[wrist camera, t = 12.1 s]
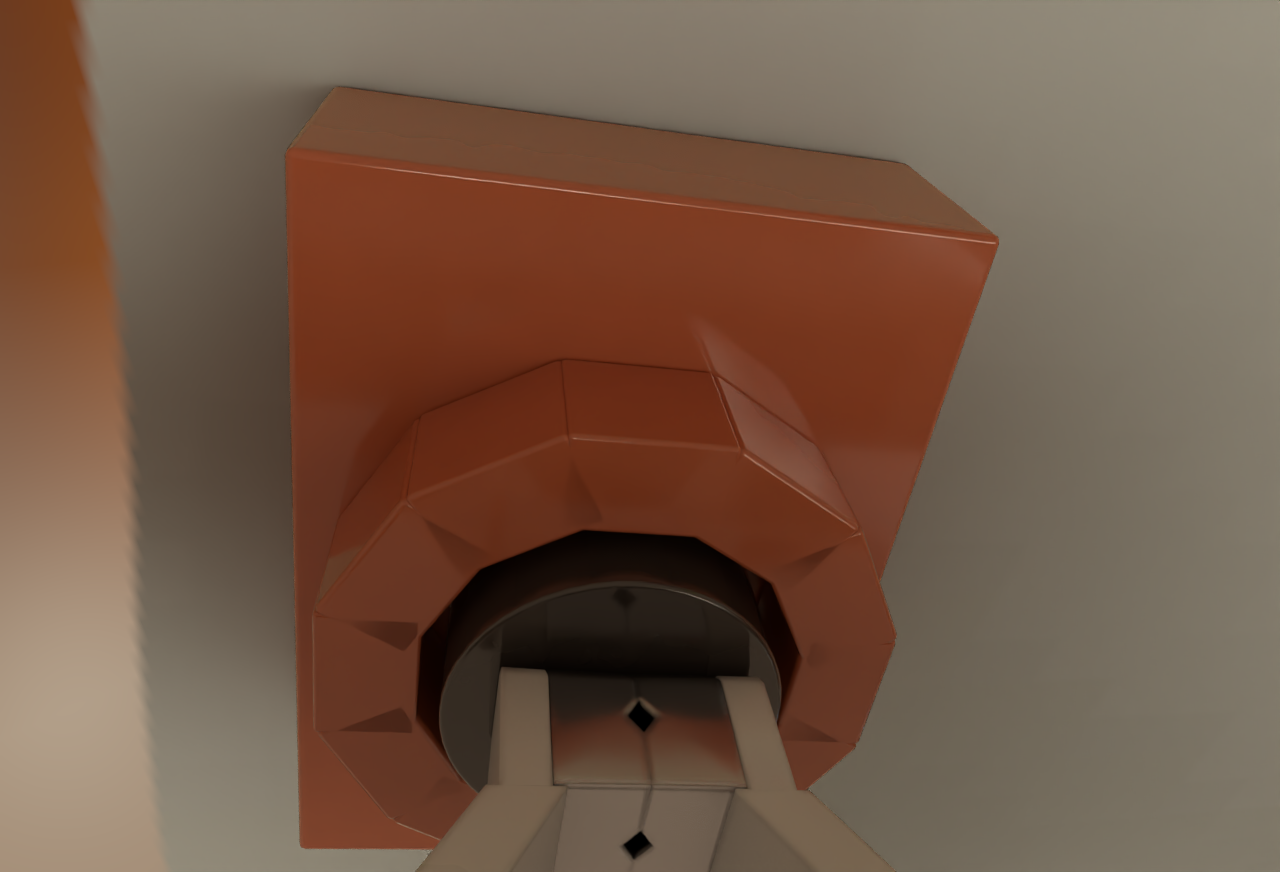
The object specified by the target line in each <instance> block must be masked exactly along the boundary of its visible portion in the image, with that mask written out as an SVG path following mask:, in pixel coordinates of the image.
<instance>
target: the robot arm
mask: <svg viewBox="0 0 1280 872" xmlns="http://www.w3.org/2000/svg"><path fill="white" fill-rule="evenodd" d="M416 872H896V871H895V870H894V869H893V868H892V867H891V866H890V865H889V864H888V863H887V862H886V861H885V860H884V859H883V858H881V857H880V856H879V855H878V854H877V853H876V852H875V851H874V850H873V849H872V848H871V847H870V846H869V845H867V844H866V843H865V842H864V841H863V840H862V839H861V838H860V837H859V836H858V835H857V834H856V833H855V832H854V831H852V830H851V829H850V828H849V827H848V826H847V825H846V824H845V823H844V822H843V821H842V820H841V819H840V818H838V817H837V816H836V815H835V814H834V813H833V812H832V811H831V810H830V809H829V808H828V807H827V806H826V805H825V804H823V803H822V802H821V801H820V800H819V799H818V798H817V797H816V796H815V795H814V794H813V793H812V792H811V791H805V790H797V788H796V785H795V782H794V778H793V775H792V772H791V769H790V765H789V762H788V759H787V756H786V752H785V749H784V746H783V743H782V740H781V736H780V733H779V730H778V727H777V723H776V720H775V717H774V714H773V710H772V707H771V704H770V701H769V697H768V694H767V691H766V688H765V684H764V683H763V682H762V681H761V679H760V678H759V677H737V676H717V677H713V676H692V675H658V674H621V673H606V672H590V671H574V670H558V669H547V671H545V670H540V669H526V668H512V667H502V668H501V671H500V673H499V681H498V689H497V698H496V706H495V714H494V722H493V730H492V738H491V749H490V761H489V772H488V783H487V785H485V786H484V787H483V788H482V790H481V791H480V792H479V793H478V795H477V796H476V797H475V798H474V800H473V801H472V802H471V803H470V805H469V806H468V807H467V808H466V810H465V811H464V812H463V813H462V815H461V816H460V817H459V818H458V819H457V821H456V822H455V823H454V824H453V826H452V827H451V828H450V829H449V831H448V832H447V833H446V834H445V836H444V837H443V838H442V839H441V841H440V842H439V843H438V844H437V846H436V847H435V848H434V849H433V851H432V852H431V853H430V854H429V856H428V857H427V858H426V859H425V861H424V862H423V863H422V864H421V865H420V867H419V868H418V869H417V870H416Z"/></svg>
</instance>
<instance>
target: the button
mask: <svg viewBox="0 0 1280 872" xmlns="http://www.w3.org/2000/svg"><path fill="white" fill-rule="evenodd" d="M502 667H512V668H526V669H540V670H545V671H547V669H558V670H574V671H590V672H606V673H621V674H658V675H692V676H713V677H717V676H737V677H759V678H760V679H761V681H762V682H763V683H764V684H765V688H766V691H767V694H768V697H769V701H770V704H771V707H772V710H773V714H774V717H775V720H776V723H777V720H778V715H779V711H780V706H781V694H782V686H781V678H780V672H779V668H778V665H777V662H776V659H775V656H774V653H773V650H772V647H771V644H770V641H769V638H768V635H767V631H766V628H765V625H764V622H763V619H762V616H761V613H760V610H759V607H758V604H757V601H756V598H755V595H754V591H753V588H752V585H751V582H750V579H749V576H748V573H747V570H746V568H745V567H743V566H741V565H740V564H738V563H736V562H735V561H733V560H731V559H730V558H728V557H726V556H725V555H723V554H722V553H720V552H718V551H717V550H715V549H713V548H712V547H710V546H708V545H707V544H705V543H703V542H702V541H700V540H699V539H697V538H695V537H685V536H669V535H654V534H638V533H622V532H606V531H590V530H582V531H579V532H577V533H574V534H572V535H569V536H566V537H564V538H561V539H558V540H556V541H553V542H551V543H548V544H545V545H543V546H540V547H537V548H535V549H532V550H530V551H527V552H524V553H522V554H519V555H516V556H514V557H511V558H509V559H506V560H503V561H501V562H498V563H495V564H493V565H490V566H487V567H485V568H482V569H480V570H479V571H478V572H477V574H476V575H475V576H474V577H473V578H472V579H471V581H470V582H469V583H468V584H467V585H466V586H465V587H464V589H463V590H462V591H461V592H460V593H459V594H458V596H457V597H456V598H455V599H454V600H453V601H452V602H451V604H450V605H449V606H448V607H447V618H446V629H445V641H444V652H443V664H442V675H441V687H440V698H439V730H440V735H441V739H442V743H443V746H444V748H445V751H446V753H447V756H448V758H449V760H450V761H451V763H452V765H453V766H454V768H455V769H456V771H457V773H458V774H459V775H460V776H461V778H462V779H463V780H464V781H465V782H466V783H467V784H468V786H469V787H470V788H472V789H473V790H474V791H475V792H476V793H477V794H478V793H479V792H480V791H481V790H482V788H483V787H484V786H485V785H487V783H488V772H489V761H490V749H491V738H492V730H493V722H494V714H495V706H496V698H497V689H498V681H499V673H500V671H501V668H502Z"/></svg>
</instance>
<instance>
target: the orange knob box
mask: <svg viewBox="0 0 1280 872" xmlns="http://www.w3.org/2000/svg"><path fill="white" fill-rule="evenodd" d="M285 189H286V235H287V282H288V329H289V375H290V422H291V469H292V515H293V562H294V609H295V655H296V702H297V749H298V795H299V842H300V846H301V847H302V848H304V849H416V850H433V849H434V848H435V847H436V846H437V844H438V843H439V842H440V841H441V839H442V838H443V837H444V836H445V834H446V833H447V832H448V831H449V829H450V828H451V827H452V826H453V824H454V823H455V822H456V821H457V819H458V818H459V817H460V816H461V815H462V813H463V812H464V811H465V810H466V808H467V807H468V806H469V805H470V803H471V802H472V801H473V800H474V798H475V797H476V796H477V795H478V794H477V793H476V792H475V791H474V790H473V789H472V788H470V787H469V786H468V784H467V783H466V782H465V781H464V780H463V779H462V778H461V776H460V775H459V774H458V773H457V771H456V769H455V768H454V766H453V765H452V763H451V761H450V760H449V758H448V756H447V753H446V751H445V748H444V746H443V743H442V739H441V735H440V730H439V698H440V687H441V675H442V664H443V652H444V641H445V629H446V618H447V607H448V606H449V605H450V604H451V602H452V601H453V600H454V599H455V598H456V597H457V596H458V594H459V593H460V592H461V591H462V590H463V589H464V587H465V586H466V585H467V584H468V583H469V582H470V581H471V579H472V578H473V577H474V576H475V575H476V574H477V572H478V571H479V570H480V569H482V568H485V567H487V566H490V565H493V564H495V563H498V562H501V561H503V560H506V559H509V558H511V557H514V556H516V555H519V554H522V553H524V552H527V551H530V550H532V549H535V548H537V547H540V546H543V545H545V544H548V543H551V542H553V541H556V540H558V539H561V538H564V537H566V536H569V535H572V534H574V533H577V532H579V531H582V530H590V531H606V532H622V533H638V534H654V535H669V536H685V537H695V538H697V539H699V540H700V541H702V542H703V543H705V544H707V545H708V546H710V547H712V548H713V549H715V550H717V551H718V552H720V553H722V554H723V555H725V556H726V557H728V558H730V559H731V560H733V561H735V562H736V563H738V564H740V565H741V566H743V567H745V568H746V570H747V573H748V576H749V579H750V582H751V585H752V588H753V591H754V595H755V598H756V601H757V604H758V607H759V610H760V613H761V616H762V619H763V622H764V625H765V628H766V631H767V635H768V638H769V641H770V644H771V647H772V650H773V653H774V656H775V659H776V662H777V665H778V668H779V672H780V678H781V686H782V694H781V706H780V711H779V715H778V720H777V727H778V730H779V733H780V736H781V740H782V743H783V746H784V749H785V752H786V756H787V759H788V762H789V765H790V769H791V772H792V775H793V778H794V782H795V785H796V788H797V790H805V791H807V789H808V788H809V787H810V786H811V785H813V784H814V783H815V782H816V781H817V780H819V779H820V778H821V777H822V776H823V775H824V774H826V773H827V772H828V771H829V770H830V769H831V768H833V767H834V766H835V765H836V764H837V763H838V762H840V761H841V760H842V759H843V758H844V757H846V756H847V755H848V754H849V753H850V752H851V751H853V750H854V749H855V747H856V743H857V742H858V741H859V739H860V737H861V734H862V731H863V729H864V726H865V723H866V721H867V718H868V715H869V713H870V710H871V707H872V705H873V702H874V699H875V697H876V694H877V691H878V689H879V686H880V683H881V681H882V678H883V675H884V673H885V670H886V667H887V665H888V662H889V659H890V657H891V654H892V651H893V649H894V646H895V639H896V636H897V633H896V630H895V627H894V624H893V621H892V618H891V614H890V611H889V608H888V605H887V602H886V599H885V596H884V593H883V590H882V587H881V584H880V581H881V578H882V575H883V572H884V569H885V566H886V564H887V561H888V558H889V555H890V552H891V549H892V547H893V544H894V541H895V538H896V535H897V532H898V530H899V527H900V524H901V521H902V518H903V515H904V512H905V510H906V507H907V504H908V501H909V498H910V495H911V493H912V490H913V487H914V484H915V481H916V478H917V475H918V473H919V470H920V467H921V464H922V461H923V458H924V456H925V453H926V450H927V447H928V444H929V441H930V439H931V436H932V433H933V430H934V427H935V424H936V421H937V419H938V416H939V413H940V410H941V407H942V404H943V402H944V399H945V396H946V393H947V390H948V387H949V384H950V382H951V379H952V376H953V373H954V370H955V367H956V365H957V362H958V359H959V356H960V353H961V350H962V348H963V345H964V342H965V339H966V336H967V333H968V330H969V328H970V325H971V322H972V319H973V316H974V313H975V311H976V308H977V305H978V302H979V299H980V296H981V294H982V291H983V288H984V285H985V282H986V279H987V276H988V274H989V271H990V268H991V265H992V262H993V259H994V257H995V254H996V251H997V248H998V245H999V238H998V236H996V235H995V234H994V233H993V232H991V231H990V230H989V229H987V228H986V227H985V226H984V225H982V224H981V223H980V222H979V221H977V220H976V219H975V218H974V217H972V216H971V215H970V214H969V213H967V212H966V211H965V210H964V209H962V208H961V207H960V206H958V205H957V204H956V203H955V202H953V201H952V200H951V199H950V198H948V197H947V196H946V195H945V194H943V193H942V192H941V191H940V190H938V189H937V188H936V187H935V186H933V185H932V184H931V183H929V182H928V181H927V180H926V179H924V178H923V177H922V176H921V175H919V174H918V173H917V172H916V171H914V170H913V169H912V168H911V167H909V166H908V165H906V164H902V163H895V162H887V161H880V160H873V159H865V158H858V157H851V156H843V155H836V154H829V153H822V152H814V151H807V150H800V149H792V148H785V147H778V146H770V145H763V144H756V143H748V142H741V141H734V140H726V139H719V138H712V137H704V136H697V135H690V134H682V133H675V132H668V131H660V130H653V129H646V128H638V127H631V126H624V125H616V124H609V123H602V122H594V121H587V120H580V119H572V118H565V117H558V116H550V115H543V114H536V113H528V112H521V111H514V110H506V109H499V108H492V107H484V106H477V105H470V104H462V103H455V102H448V101H440V100H433V99H426V98H418V97H411V96H404V95H396V94H389V93H382V92H374V91H367V90H360V89H352V88H345V87H336V88H333V89H332V91H331V92H330V93H329V95H328V96H327V97H326V99H325V100H324V101H323V103H322V104H321V105H320V106H319V108H318V109H317V110H316V112H315V113H314V114H313V116H312V117H311V118H310V120H309V121H308V122H307V124H306V125H305V126H304V127H303V129H302V130H301V131H300V133H299V134H298V135H297V137H296V138H295V139H294V141H293V142H292V143H291V144H290V146H289V147H288V148H287V151H286V153H285Z"/></svg>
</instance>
